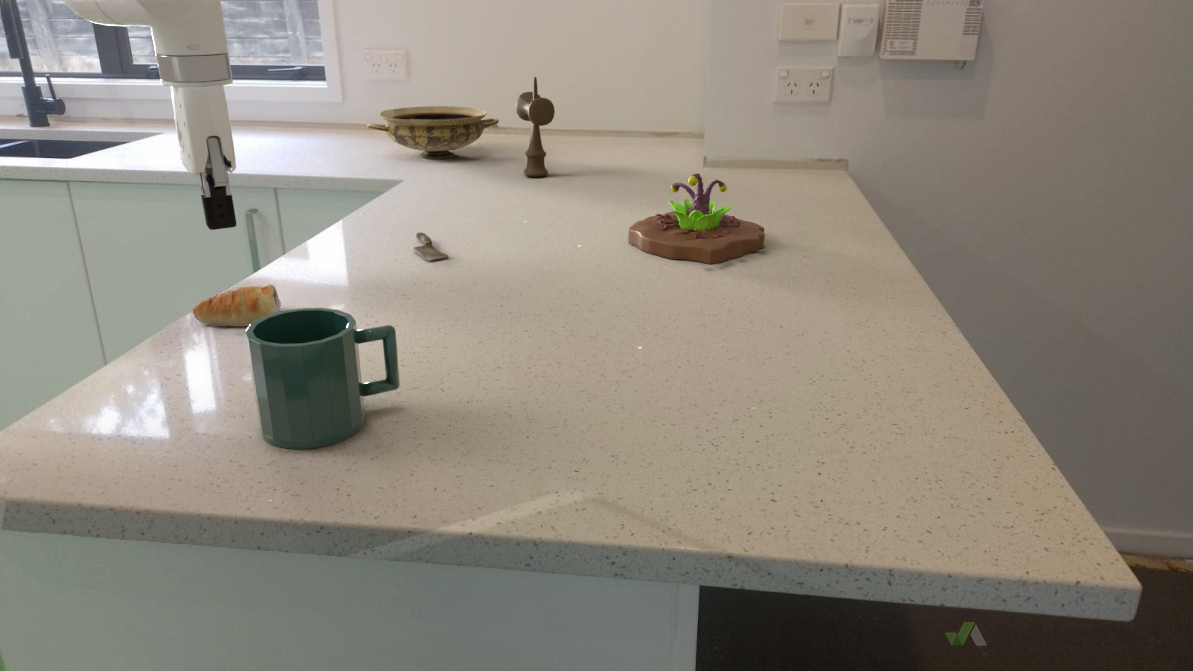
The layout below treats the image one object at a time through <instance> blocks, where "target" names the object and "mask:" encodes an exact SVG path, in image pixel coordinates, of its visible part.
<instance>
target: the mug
mask: <svg viewBox="0 0 1193 671" xmlns="http://www.w3.org/2000/svg"><path fill="white" fill-rule="evenodd" d="M244 333H245V340H246V347H247V353H248V361H249V368H250V373H251V380H252V385H253V392H254V399H255V405H256V412H257V417H258V419H257V420H258V424H259V427H260V434H261V436H262V438H263V439H264V440H265V441H266V442H267V443H268V444H270V445H273V446H275V447H278V448H282V449H288V450H289V449H290V450H309V449H311V450H312V449H318V448H324V447H328V446H331V445H334V444H338V443H340V442H343V441H345V440H347V439H349V438H351V437H352V436H355V435H356V433H358V432H359V431H360V430H361V429H362V427H363V425H364V424H365V412H366V411H365V400H364V397H369V396H373V395H378V394H383V393H384V394H385V393H388V392H389V393H390V392H393V391H397V390H398V389H399V388H400V384H401V383H400V370H399V369H400V368H399V357H398V356H399V355H398V344H397V331H396V328H395V327H394V326H393V325H390V324H387V325H381V326H375V327H370V328H363V329H358V328H357V321H356V319H355V318H354V316H352V314H350V313H347V312H345V311H342V310H340V309H334V308H326V307H302V308H301V307H300V308H294V309H287V310H281V311H278V313H274V314H271V315H268V316H264V317H262V318H260V319H259V320H257V321H255V322H253V323H251V324H250V325H249V326H247V328H246V330H245V332H244ZM377 341H382V350H383V361H384V362H383V363H384V373H385V378H383V379H379V380H374V381H369V382H363V381H362V370H361V359H360V349H359V348H360V347H359V345H361V344H365V343H371V342H377Z"/></svg>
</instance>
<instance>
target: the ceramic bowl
mask: <svg viewBox="0 0 1193 671" xmlns="http://www.w3.org/2000/svg"><path fill="white" fill-rule="evenodd" d="M487 114H488V111H487V110H484V109H479V108H473V107H467V106H466V107H465V106H451V105H449V106H448V105H447V106H446V105H430V106H429V105H428V106H409V107H400V108H392V109H384V110H382V111H381V112H379V117H380V118H382V120H384V121H386V123H385V124H371V123H369V124H367V125H366V128H367V129H369V130H375V131H381V132H385V133H386V135H387V137H388V138H389V139H390V140H391V141H393V142H394V143H396V144H398V145H400V146H402V147H405V148H407V149H412V150H416V151H421V153H419V155H418V156H419V157H420V158H424V159H448V158H452V157H455V155H456V154H455V153H453V152H452V151H455V150H458V149H461V148H464V147H467V146H469V145H471V144H473V143H474V142H476V141H478V139H480V138H481V136H482V134H483V132H484V130H485V129H487V128H489V127H494V126H496V125H498V124H499V118H497V117H493V118H492V117H491V118H486V119H484V118H485V117H486V115H487Z"/></svg>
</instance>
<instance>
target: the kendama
mask: <svg viewBox="0 0 1193 671" xmlns="http://www.w3.org/2000/svg"><path fill="white" fill-rule="evenodd" d="M537 79H538V78H537V76H533V81H532V91H525V92H523V93H521V94H519V95H518V97H517V98H516V101H515V112H516V115H517V116H518V118H519V119H521V120H523V121H525V122H526V121H527V122H531V128H530V129H531V130H530V131H531V132H530V139H529V144H528V148H527V150H526V151H525V153H524V154H525V157H526V159H527V164H526V167H525V169H524V170H523V174H524V175H525V176H526V177H530V178H543V177H546V176H548V175H549V171H548V169H547V168H546V165H545V158H546V156H547V152H546V151H545V150H544V147H543V142H542V136H541V129H540V127H542V126H547V125H549V124H551V123H552V121H553V119H554V118H555V111H556V110H555V105H554V103H553V102H552V100H551V99H549V98H547V97H541V95H540V94H538V80H537Z"/></svg>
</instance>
